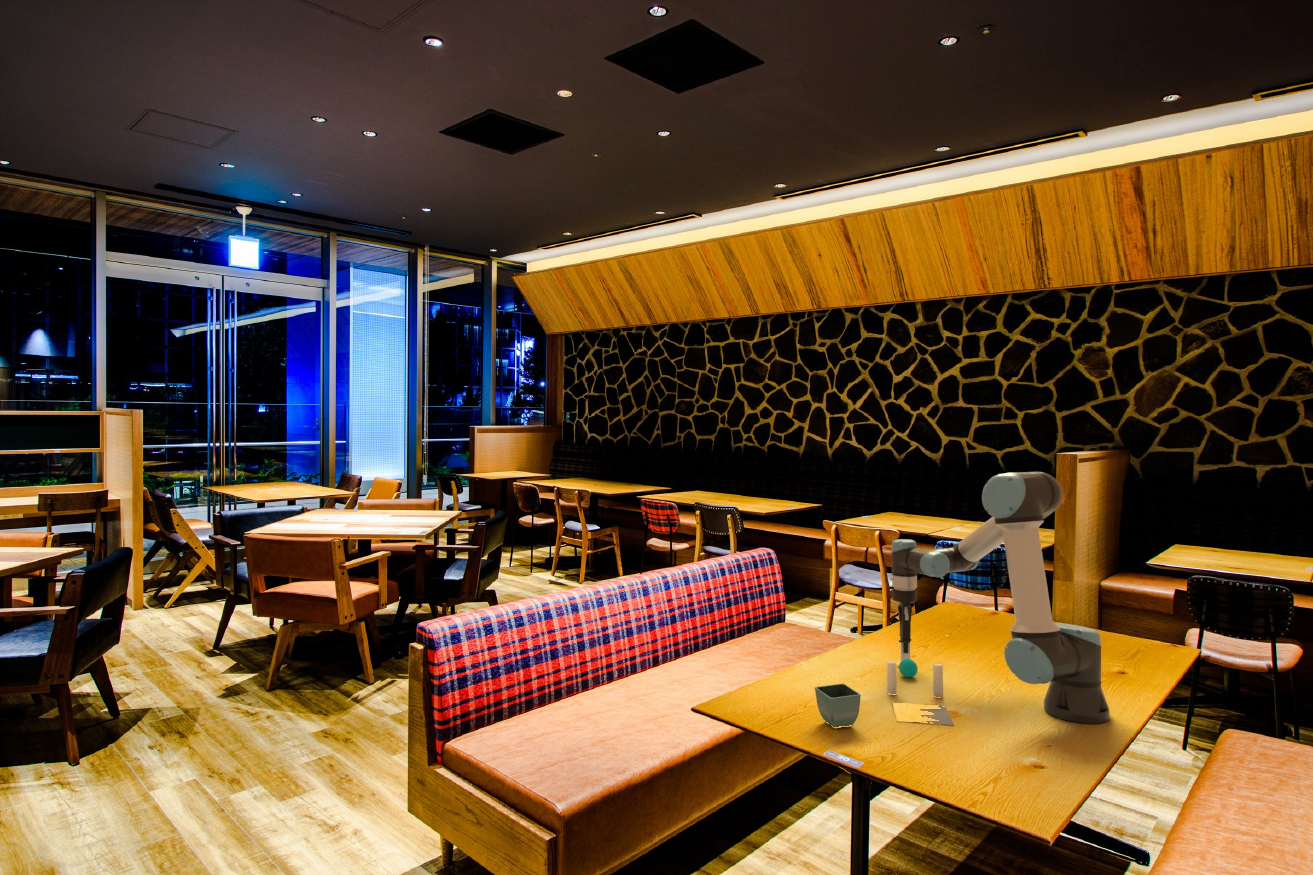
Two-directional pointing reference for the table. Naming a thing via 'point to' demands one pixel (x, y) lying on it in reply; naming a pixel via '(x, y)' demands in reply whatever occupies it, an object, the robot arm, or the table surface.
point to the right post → (938, 680)
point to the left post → (891, 677)
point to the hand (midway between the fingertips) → (905, 661)
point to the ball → (908, 668)
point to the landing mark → (939, 716)
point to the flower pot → (838, 704)
